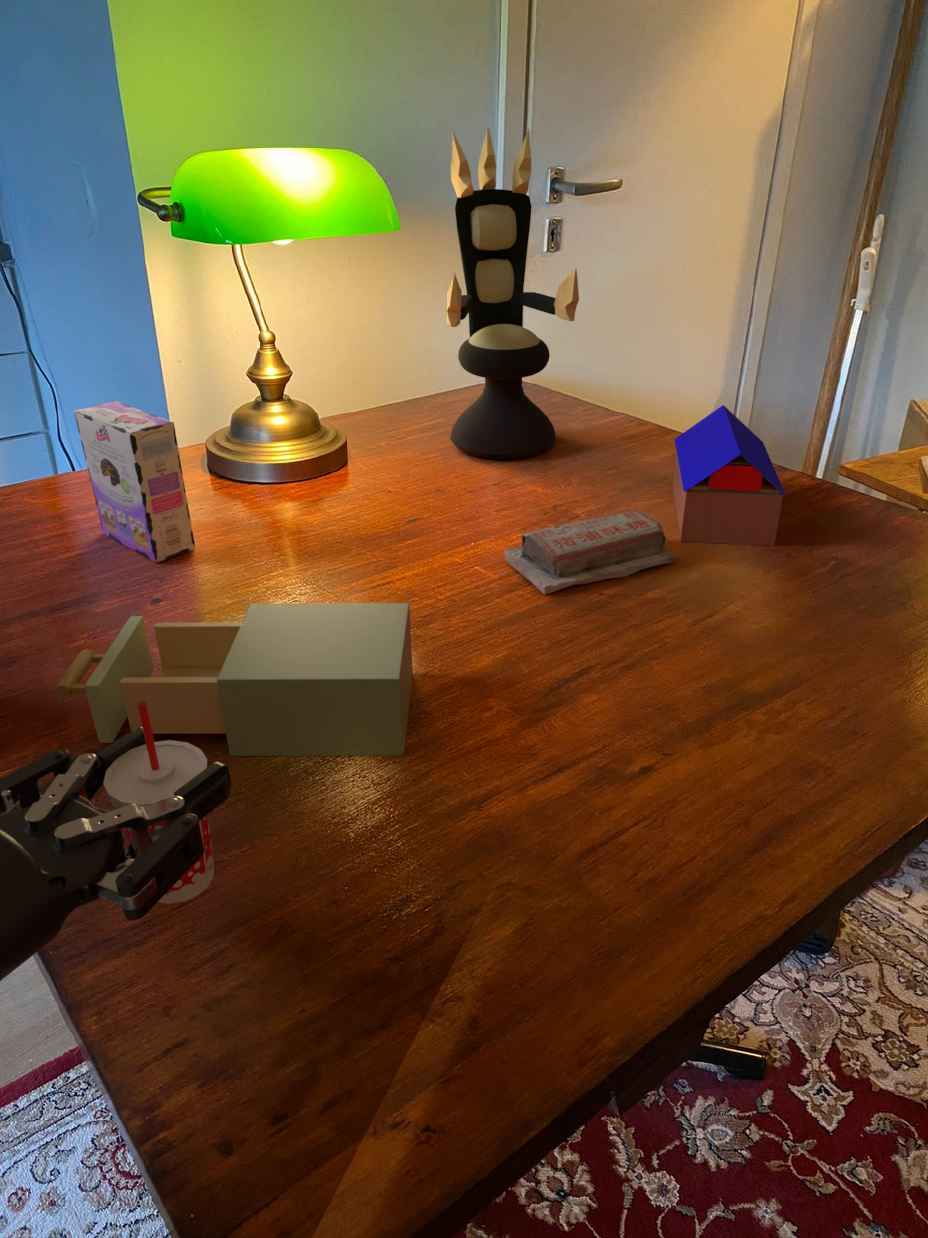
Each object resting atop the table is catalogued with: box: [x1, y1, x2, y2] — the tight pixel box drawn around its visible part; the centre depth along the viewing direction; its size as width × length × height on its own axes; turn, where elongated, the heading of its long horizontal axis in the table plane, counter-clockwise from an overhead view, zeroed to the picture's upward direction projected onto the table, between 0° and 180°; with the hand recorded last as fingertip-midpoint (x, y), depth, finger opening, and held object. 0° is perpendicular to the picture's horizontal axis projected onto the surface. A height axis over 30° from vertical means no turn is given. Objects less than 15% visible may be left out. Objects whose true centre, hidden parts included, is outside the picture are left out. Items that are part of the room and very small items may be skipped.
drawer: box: [53, 615, 243, 744], centre depth 81 cm, size 18×12×6 cm, turn 89°
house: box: [671, 404, 787, 547], centre depth 118 cm, size 12×20×12 cm, turn 172°
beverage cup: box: [103, 701, 215, 905], centre depth 57 cm, size 6×6×14 cm
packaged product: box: [503, 508, 677, 596], centre depth 107 cm, size 18×5×10 cm
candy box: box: [73, 400, 196, 564], centre depth 111 cm, size 14×6×16 cm, turn 46°
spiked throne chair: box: [446, 124, 580, 460], centre depth 136 cm, size 19×22×45 cm
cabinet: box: [217, 602, 414, 757], centre depth 81 cm, size 15×13×8 cm
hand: (186, 757), depth 58 cm, fingers closed on beverage cup, 6 cm apart
